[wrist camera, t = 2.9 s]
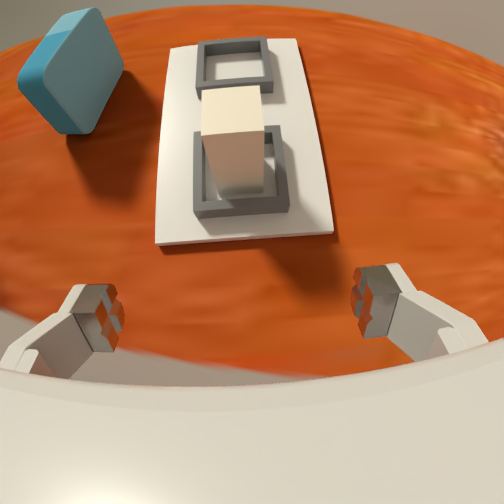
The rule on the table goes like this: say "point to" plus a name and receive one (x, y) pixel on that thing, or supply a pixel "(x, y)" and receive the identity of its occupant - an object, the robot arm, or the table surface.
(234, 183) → the plug block
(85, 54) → the data package
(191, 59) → the dock
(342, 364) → the table surface
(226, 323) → the table surface
